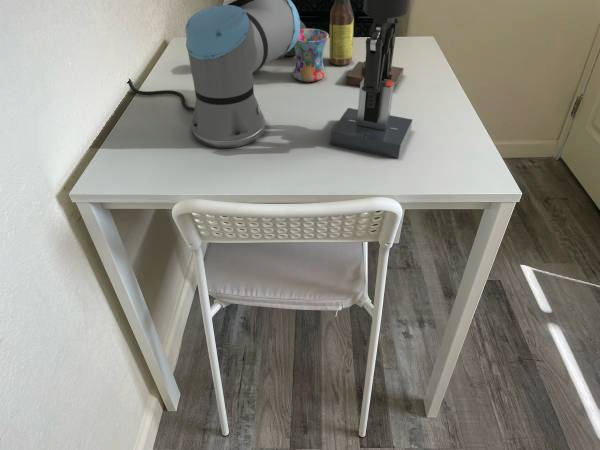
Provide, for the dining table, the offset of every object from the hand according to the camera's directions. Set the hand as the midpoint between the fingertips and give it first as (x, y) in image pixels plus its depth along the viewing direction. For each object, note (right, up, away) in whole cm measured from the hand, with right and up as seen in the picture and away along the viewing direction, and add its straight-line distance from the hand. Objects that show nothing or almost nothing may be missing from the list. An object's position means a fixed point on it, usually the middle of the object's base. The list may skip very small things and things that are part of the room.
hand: (373, 115), depth 91 cm
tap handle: (0, -2, +1) cm, 2 cm away
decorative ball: (-18, +26, +38) cm, 50 cm away
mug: (-12, +17, +28) cm, 34 cm away
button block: (+4, +15, +25) cm, 29 cm away
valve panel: (0, -4, +3) cm, 5 cm away
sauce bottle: (-4, +23, +34) cm, 41 cm away
